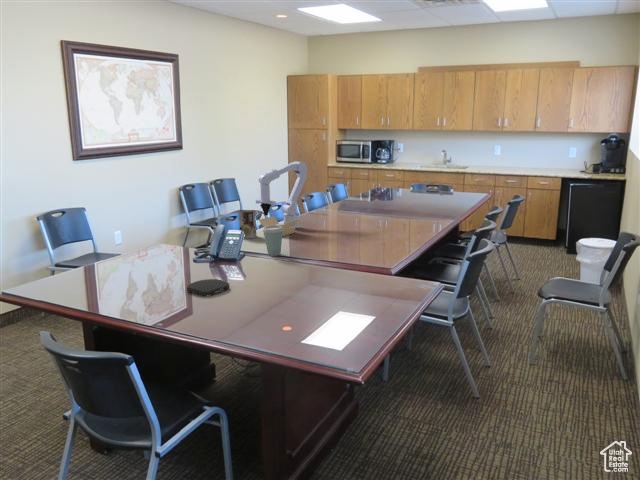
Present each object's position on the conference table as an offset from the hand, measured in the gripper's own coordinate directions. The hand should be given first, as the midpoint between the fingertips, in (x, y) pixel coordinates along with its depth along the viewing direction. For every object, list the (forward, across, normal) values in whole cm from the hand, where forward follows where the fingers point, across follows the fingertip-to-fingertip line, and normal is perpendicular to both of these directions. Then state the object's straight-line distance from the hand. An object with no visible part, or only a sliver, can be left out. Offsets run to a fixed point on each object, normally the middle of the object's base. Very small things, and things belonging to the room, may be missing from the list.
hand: (266, 215), depth 335 cm
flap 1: (+6, +6, -3) cm, 9 cm away
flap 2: (+6, +18, -3) cm, 20 cm away
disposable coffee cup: (+11, +41, -46) cm, 62 cm away
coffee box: (+11, +1, -20) cm, 22 cm away
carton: (+10, +12, -3) cm, 16 cm away
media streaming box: (+11, +53, -107) cm, 120 cm away
